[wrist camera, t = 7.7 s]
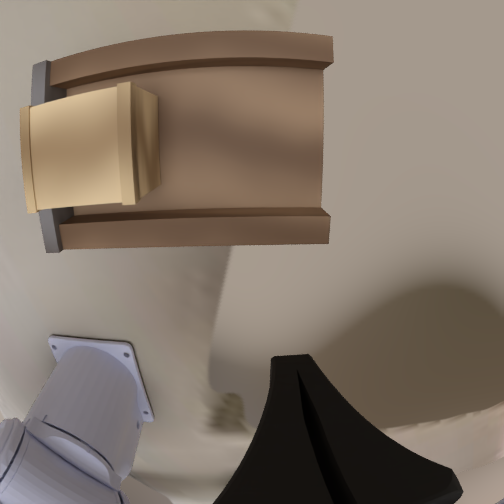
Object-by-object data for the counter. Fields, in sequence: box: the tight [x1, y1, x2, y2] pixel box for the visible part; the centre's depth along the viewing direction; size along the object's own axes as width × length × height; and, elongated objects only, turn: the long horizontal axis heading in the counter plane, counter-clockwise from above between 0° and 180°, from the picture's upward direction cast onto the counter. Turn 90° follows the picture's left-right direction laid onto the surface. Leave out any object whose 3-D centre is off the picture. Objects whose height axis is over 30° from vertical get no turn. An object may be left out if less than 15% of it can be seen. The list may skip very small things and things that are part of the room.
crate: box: [20, 82, 161, 213], centre depth 13 cm, size 5×6×5 cm
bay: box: [31, 31, 334, 253], centre depth 15 cm, size 11×16×4 cm
